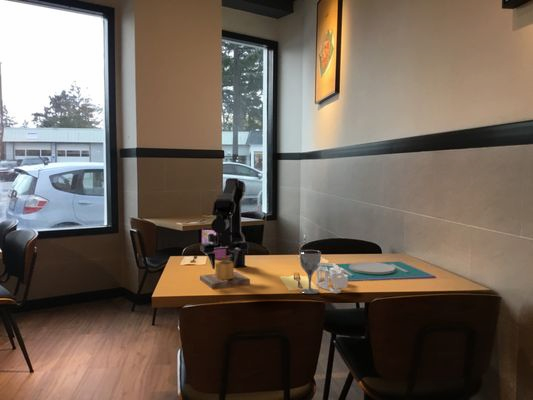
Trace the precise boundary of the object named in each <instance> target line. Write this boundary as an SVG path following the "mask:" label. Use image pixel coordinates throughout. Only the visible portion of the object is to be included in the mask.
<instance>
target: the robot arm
mask: <svg viewBox="0 0 533 400" xmlns="http://www.w3.org/2000/svg"><path fill="white" fill-rule="evenodd" d="M224 183H225V185H224V188H223V191H222V193H221V194H220V195H218V196H217V197H216V199H215V201H214V202H213V209H212V214H211V215H212V216H213V217H215V218H214V219H212V222H211V223H210V225H211V229H213V231H215V232H216V235H215V236H214V234H209V235H208V242H213V244H210V243H206V244H202V243H201V244H200V246H199V251H200V252H202V253H203V252H204V253H203V254H205V255H206V254H207V255H206V256H207V257H208V260H209V263H210V265H211V268H212V269H213V270H216V259H215V253H214V252H213V251H214V250H217V249H226V251H227V255H229V256H228V261H232V262H234V269H239V268H247V265H246V255H247V254H249V243H248V242H247V241H246V240H245V239H246V238H245V235H244V233H243V232H242V199H243V198H244V195H245V192H246V187H247V186H246V184H245V182H244V181H242V180H240V179H239V178H234V177H229V178H226V181H225V182H224ZM216 244H217V245H216ZM220 246H221V247H220Z"/></svg>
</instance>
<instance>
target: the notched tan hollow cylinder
mask: <svg viewBox="0 0 533 400" xmlns="http://www.w3.org/2000/svg"><path fill="white" fill-rule="evenodd" d="M222 261H223V260H219V261H215V274H216V278H217V279H223V280H224V281H227V280H226V279H232V278H233V277H234V272H235V271H234V270H235V268H234V262H232V261H229V260H226V261H227V264H222Z"/></svg>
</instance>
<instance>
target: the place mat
mask: <svg viewBox="0 0 533 400" xmlns="http://www.w3.org/2000/svg"><path fill="white" fill-rule="evenodd" d="M335 264H336V265H337V266H338V267H340V268H343V269H344V274H346V275H348V282H361V281H362V282H364V281H363V280H369V281H385V280H386V281H387V279H388V281H391V280H390V279H394V280H414V279H429V278H430V279H433V278H435V279H436V275H434V274H432V273H429V272H427V271H425V270H423V269H420V268H418V267H416V266H413V265H410V264H408V263H406V262H404V261H402V260H401V261H400V260H398V261H396V260H395V261H376V262H375V261H374V262H373V261H360V262H351V263H350V262H346V263H335ZM319 267H320V266H319ZM322 267H327V269H328V271H330V268H332V267H333V266H324V265H322ZM329 275H330V274H328V277H329Z"/></svg>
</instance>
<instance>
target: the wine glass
mask: <svg viewBox="0 0 533 400" xmlns="http://www.w3.org/2000/svg"><path fill="white" fill-rule="evenodd" d="M321 257H322V251H320V250H316V249H302V250H300V251H299V263H300V266H301V268H302V269H303V271H304V272H305V273H306V274H307V279H308V287H307V288H302V289H300V292H301V294H307V295H313V294H318V293H320V291H319V289H316V288H312V277H313V275H314V273H315V272H317V269H318V267H319V265H320V262H321V260H322V258H321Z"/></svg>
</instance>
